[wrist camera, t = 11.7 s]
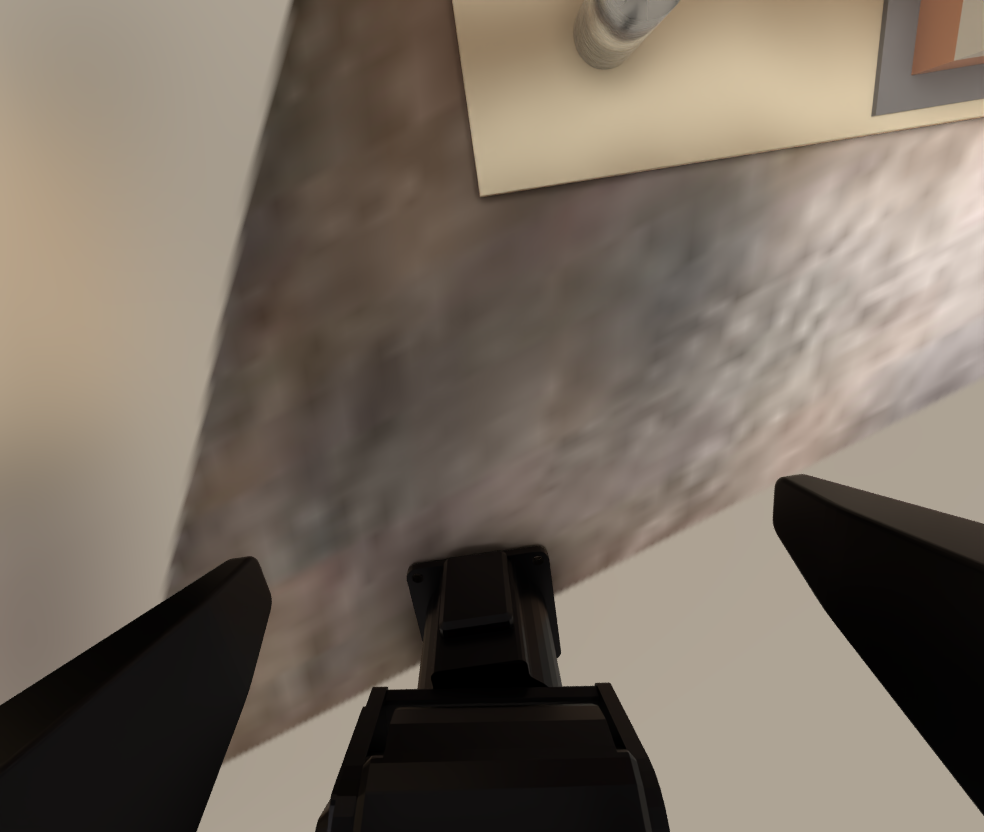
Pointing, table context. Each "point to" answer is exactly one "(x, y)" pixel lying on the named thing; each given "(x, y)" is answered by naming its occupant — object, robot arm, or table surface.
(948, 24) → the sleeve
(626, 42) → the pins
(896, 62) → the pin board
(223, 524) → the table surface
